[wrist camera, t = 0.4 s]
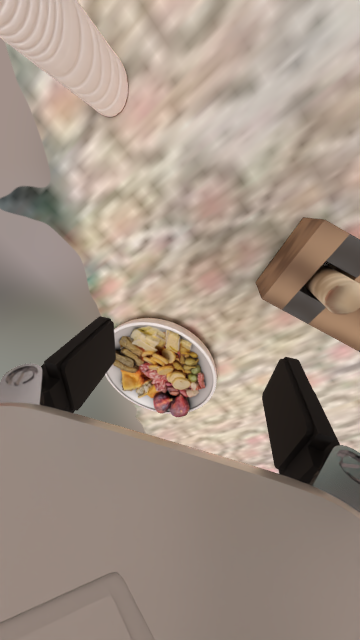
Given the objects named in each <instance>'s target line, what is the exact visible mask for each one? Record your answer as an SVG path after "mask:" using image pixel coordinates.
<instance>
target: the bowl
mask: <svg viewBox="0 0 360 640" xmlns="http://www.w3.org/2000/svg"><path fill="white" fill-rule="evenodd" d="M114 337H115V351H116V359H115V362H114V363H113V365H112V366H111V367H110V369H109V370H108V371H107V373H106V374H105V375H106V377H107V379H108V380H109V382H110V383H111V384H112V386H113V387H114V388H115V389H116V390H117V391H118V392H119V393H120V394H122V395H123V396H124V397H125V398H127V399H128V400H130V401H131V402H133V403H135V404H137V405H139V406H141V407H143V408H146V409H149V410H152V411H155V412H158V413H167V414H172V415H173V416H175V417H182V416H185V415H187V413H188V412H190V411H193V410H196V409H198V408H200V407H201V406H203V405H204V404H206V403H207V402H208V401H209V400H210V398H211V397H212V395H213V393H214V391H215V388H216V381H217V374H216V367H215V363H214V360H213V358H212V356H211V354H210V352H209V350H208V349H207V348H206V346H205V345H204V344H203V342H202V341H201V340H200V339H199V338H198V337H196V336H195V335H194V334H193V333H191V332H190V331H189V330H187V329H185V328H184V327H182V326H180V325H178V324H175V323H173V322H170V321H166V320H162V319H156V318H141V319H135V320H131V321H128V322H125V323H123V324H121V325H120V326H118V327H116V328H115V329H114Z"/></svg>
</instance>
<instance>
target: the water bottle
mask: <svg viewBox="0 0 360 640" xmlns="http://www.w3.org/2000/svg"><path fill="white" fill-rule="evenodd" d="M0 38H1V39H3V40H4V41H5V42H6V43H8V44H9V45H11V46H12V47H13V48H14V49H16V50H17V51H19V52H20V53H21V54H22V55H24V56H25V57H27V58H28V59H29V60H30V61H31V62H33V63H34V64H35V65H36V66H38V67H39V68H40V69H42V70H43V71H45V72H46V73H48V74H49V75H50V76H51V77H52V78H54V79H55V80H56V81H58V82H59V83H61V84H62V85H63V86H64V87H66V88H67V89H69V90H70V91H71V92H72V93H74V94H75V95H76V96H78V97H79V98H81V99H82V100H83V101H84V102H86V103H87V104H88V105H90V106H91V107H92V108H93V109H95V110H96V111H97V112H99V113H100V114H102V115H104V116H107V117H113V116H116V115H117V113H120V112H121V111H122V109H123V108H124V106H125V103H126V99H127V96H128V82H127V75H126V71H125V68H124V66H123V64H122V62H121V60H120V59H119V57H118V56H117V54H116V53H115V52H114V50H113V49H112V48H111V47H110V45H109V44H108V42H107V41H106V39H105V38H104V37H103V36H102V34H101V33H100V31H99V30H98V28H97V27H96V26H95V24H94V23H93V22H92V21H91V19H90V17H89V16H88V14H87V13H86V12H85V10H84V9H83V8H82V7H81V6H80V4H79V2H78V1H77V0H0Z"/></svg>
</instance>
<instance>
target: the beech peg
mask: <svg viewBox="0 0 360 640" xmlns="http://www.w3.org/2000/svg"><path fill="white" fill-rule="evenodd" d="M305 286H306V288H307V289H308V290H309V291H310V292H311V293H312V294H313V295H314V296H315V297H316V298H317V299H318V300H319V301H320V302H321V303H322V304H323V305H324V306H325V307H326V308H327V309H328V310H329V311H330V312H332V313H335V314H348V313H351V312H354V311H356V310H357V309H359V308H360V284H359V283H358V282H356V281H354V280H352V279H350V278H349V277H347V276H345V275H343V274H342V273H340V272H338V271H336V270H334V269H333V268H331V267H329V266H324V265H322V266H321V267H320V268H319V269H318V270H317V271H316V272H315V274H314V275H313V276H312V277H311V278H310V279H309V280H308V281H307V282H306V284H305Z"/></svg>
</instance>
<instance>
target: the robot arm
mask: <svg viewBox="0 0 360 640" xmlns="http://www.w3.org/2000/svg"><path fill="white" fill-rule="evenodd" d="M115 359H116V351H115V337H114V324H113V322H112V321H111V319H110V318H105V317H99V318H97V319H96V320H95V321H93V322H92V323H91V324H90V325H88V326H87V327H86V328H85V329H84V330H82V331H81V332H80V333H79V334H77V335H76V336H75V337H74V338H72V339H71V340H70V341H69V342H68V343H66V344H65V345H64V346H63V347H61V348H60V349H59V350H58V351H57V352H56V353H54V354H53V355H52V356H50V357H49V358H48V359H47V360H46V361H44V364H43V365H42V366H39V365H37V364H24V365H20V366H17V367H15V368H13V369H11V370H10V371H8V372H7V373H6V374H5V375H4V376H3V377H2V379H1V382H0V640H360V453H359V452H357V451H356V450H354V449H352V448H350V447H347V446H343V445H340V444H339V442H338V440H337V438H336V435H335V433H334V431H333V429H332V427H331V425H330V423H329V421H328V419H327V417H326V415H325V413H324V411H323V409H322V406H321V404H320V402H319V400H318V398H317V396H316V394H315V392H314V391H313V389H312V387H311V385H310V383H309V381H308V379H307V377H306V375H305V372H304V370H303V368H302V366H301V364H300V362H299V360H297V359H293V358H288V357H285V358H284V359H280V360H279V362H278V364H277V366H276V368H275V370H274V372H273V374H272V376H271V378H270V380H269V382H268V384H267V386H266V388H265V390H264V392H263V396H262V400H263V406H264V411H265V416H266V422H267V427H268V433H269V438H270V444H271V449H272V454H273V460H274V465H275V467H276V469H279V474H277V473H274V472H271V471H268V470H265V469H261V468H258V467H255V466H252V465H249V464H245V463H242V462H239V461H235V460H232V459H229V458H225V457H222V456H219V455H215V454H212V453H209V452H205V451H202V450H199V449H195V448H192V447H188V446H185V445H182V444H178V443H175V442H171V441H168V440H165V439H161V438H158V437H154V436H151V435H148V434H144V433H140V432H137V431H134V430H130V429H127V428H123V427H120V426H116V425H113V424H109V423H106V422H102V421H99V420H95V419H92V418H88V417H85V416H82V415H78V414H74V413H73V412H74V411H75V410H78V409H79V408H80V407H81V406H82V404H83V403H84V402H85V400H86V399H87V398H88V396H89V395H90V394H91V392H92V391H93V390H94V389H95V387H96V386H97V385H98V383H99V382H100V380H101V379H102V378H103V377H104V375H105V374H106V373H107V371H108V370H109V369H110V367H111V366H112V365H113V363H114V362H115Z"/></svg>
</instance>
